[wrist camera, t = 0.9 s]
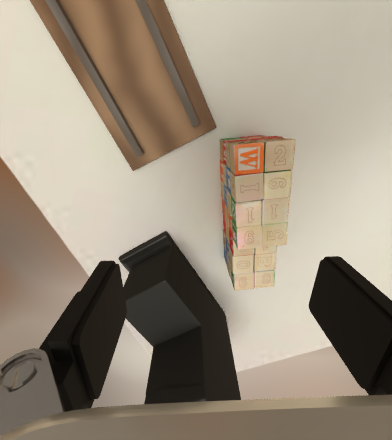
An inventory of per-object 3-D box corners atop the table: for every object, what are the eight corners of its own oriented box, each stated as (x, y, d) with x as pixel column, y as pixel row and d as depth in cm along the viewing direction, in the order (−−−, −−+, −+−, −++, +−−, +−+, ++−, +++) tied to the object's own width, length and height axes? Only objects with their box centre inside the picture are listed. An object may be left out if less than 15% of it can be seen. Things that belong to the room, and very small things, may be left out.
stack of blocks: (256, 254, 41) (282, 302, 30) (223, 257, 41) (237, 306, 30) (259, 134, 33) (297, 138, 21) (218, 138, 33) (234, 144, 21)
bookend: (118, 256, 40) (37, 404, 19) (167, 229, 39) (139, 360, 17) (183, 331, 49) (178, 494, 27) (226, 312, 47) (257, 471, 25)
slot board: (129, -80, 24) (123, -102, 21) (215, 127, 32) (217, 127, 30) (28, -6, 26) (13, -19, 23) (134, 169, 34) (130, 172, 32)
